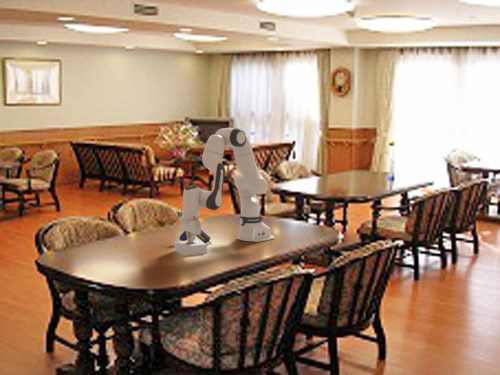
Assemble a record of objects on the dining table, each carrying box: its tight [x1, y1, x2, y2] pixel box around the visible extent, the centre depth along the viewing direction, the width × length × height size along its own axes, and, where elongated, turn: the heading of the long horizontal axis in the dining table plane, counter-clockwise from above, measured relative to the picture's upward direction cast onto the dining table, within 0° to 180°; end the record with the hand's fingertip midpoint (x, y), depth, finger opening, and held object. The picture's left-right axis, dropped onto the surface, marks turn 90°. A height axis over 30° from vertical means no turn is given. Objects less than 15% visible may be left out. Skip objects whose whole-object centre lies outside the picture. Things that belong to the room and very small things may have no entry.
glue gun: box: [178, 215, 212, 245], centre depth 387 cm, size 5×25×12 cm
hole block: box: [174, 239, 208, 257], centre depth 365 cm, size 14×12×5 cm
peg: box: [187, 232, 193, 244], centre depth 364 cm, size 3×3×10 cm
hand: (190, 239), depth 365 cm, fingers closed on peg, 3 cm apart
